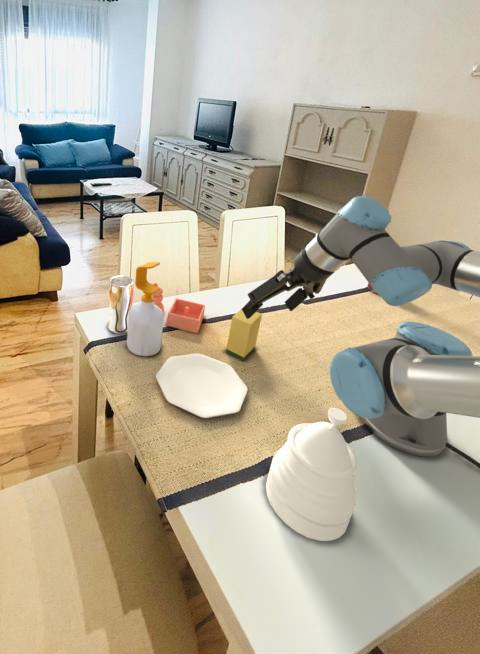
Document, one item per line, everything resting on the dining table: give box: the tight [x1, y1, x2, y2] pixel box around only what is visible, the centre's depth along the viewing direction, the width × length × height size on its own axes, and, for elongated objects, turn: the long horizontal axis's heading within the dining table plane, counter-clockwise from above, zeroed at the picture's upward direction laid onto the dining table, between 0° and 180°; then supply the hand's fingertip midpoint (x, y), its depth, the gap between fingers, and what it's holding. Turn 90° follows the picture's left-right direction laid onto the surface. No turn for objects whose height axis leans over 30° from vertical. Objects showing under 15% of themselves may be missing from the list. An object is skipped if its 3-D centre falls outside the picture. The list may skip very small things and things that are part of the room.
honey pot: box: [265, 407, 358, 542], centre depth 62 cm, size 13×13×18 cm
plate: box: [155, 352, 249, 420], centre depth 89 cm, size 20×20×2 cm
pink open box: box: [151, 283, 206, 334], centre depth 115 cm, size 18×10×10 cm, turn 69°
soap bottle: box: [126, 261, 165, 357], centre depth 98 cm, size 9×9×25 cm
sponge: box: [225, 308, 263, 361], centre depth 101 cm, size 5×7×11 cm
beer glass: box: [107, 275, 135, 335], centre depth 107 cm, size 7×7×15 cm
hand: (267, 310), depth 96 cm, fingers open, 13 cm apart
